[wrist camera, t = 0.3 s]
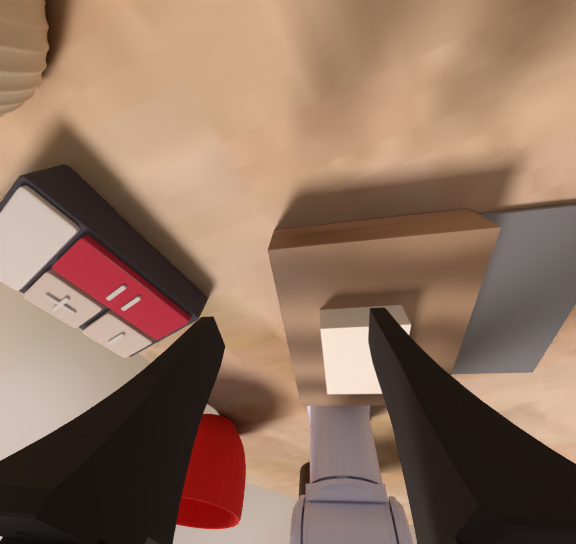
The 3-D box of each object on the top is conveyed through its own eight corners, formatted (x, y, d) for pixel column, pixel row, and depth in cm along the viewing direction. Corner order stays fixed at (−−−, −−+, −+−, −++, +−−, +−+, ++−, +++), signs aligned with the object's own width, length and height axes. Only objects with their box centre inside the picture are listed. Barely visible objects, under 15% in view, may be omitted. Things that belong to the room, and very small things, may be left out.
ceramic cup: (167, 441, 42) (131, 522, 34) (177, 392, 33) (131, 485, 25) (238, 458, 44) (221, 540, 35) (266, 416, 35) (252, 511, 26)
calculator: (124, 364, 25) (-51, 262, 18) (146, 332, 28) (6, 236, 22) (197, 325, 21) (7, 175, 14) (212, 293, 24) (66, 161, 18)
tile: (392, 372, 22) (399, 393, 20) (325, 373, 23) (327, 394, 21) (401, 304, 18) (411, 324, 16) (319, 309, 18) (320, 328, 17)
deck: (426, 374, 27) (440, 405, 24) (302, 376, 29) (301, 405, 26) (467, 208, 17) (501, 227, 14) (274, 229, 19) (267, 250, 16)
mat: (529, 368, 25) (532, 372, 25) (429, 371, 27) (431, 374, 26) (633, 197, 16) (641, 199, 15) (470, 214, 17) (474, 216, 17)
